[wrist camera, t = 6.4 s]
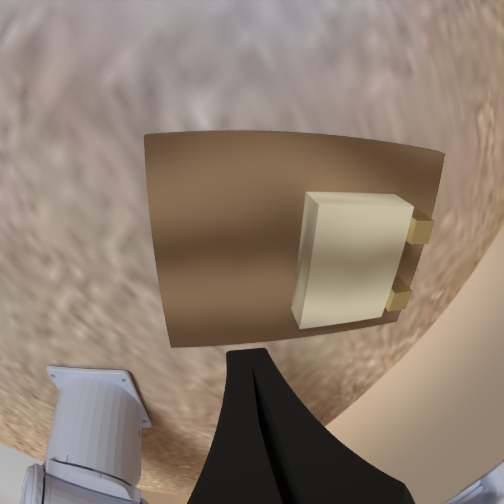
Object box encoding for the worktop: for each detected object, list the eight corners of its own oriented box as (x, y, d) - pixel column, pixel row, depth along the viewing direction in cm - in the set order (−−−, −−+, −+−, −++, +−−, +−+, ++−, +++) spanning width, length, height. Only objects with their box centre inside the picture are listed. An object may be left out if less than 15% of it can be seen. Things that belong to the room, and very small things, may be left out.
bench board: (393, 316, 23) (396, 321, 23) (171, 341, 20) (171, 347, 20) (439, 151, 16) (444, 153, 16) (145, 134, 13) (143, 135, 13)
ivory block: (368, 299, 21) (381, 316, 19) (291, 308, 20) (299, 329, 18) (395, 194, 17) (413, 206, 15) (305, 191, 16) (318, 204, 14)
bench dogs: (388, 287, 20) (405, 308, 18) (371, 289, 20) (388, 311, 18) (411, 204, 17) (434, 220, 15) (393, 204, 17) (416, 220, 15)
